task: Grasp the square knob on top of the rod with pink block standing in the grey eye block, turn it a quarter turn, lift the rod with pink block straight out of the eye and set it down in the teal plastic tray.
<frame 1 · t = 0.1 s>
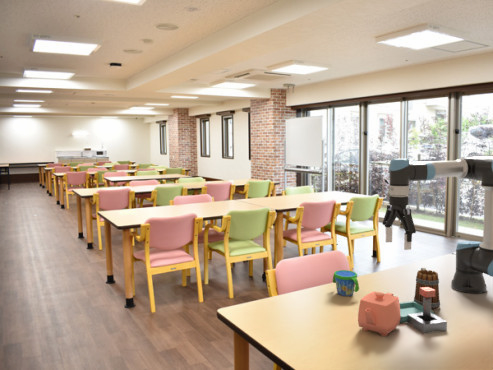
hand: (397, 245, 174), 28 cm above the table, fingers open, 13 cm apart
tray: (407, 314, 171), on the table
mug: (425, 304, 182), on the table
eye block: (426, 326, 159), on the table
snack cup: (345, 294, 196), on the table
rod with pink block: (426, 307, 159), in the eye block
teapot: (378, 329, 158), on the table
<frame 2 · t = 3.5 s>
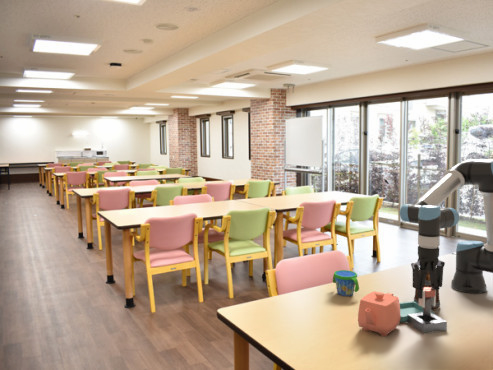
hand: (427, 305, 159), 8 cm above the table, fingers closed on rod with pink block, 4 cm apart
rod with pink block: (426, 307, 159), in the eye block, touching gripper
everything else where it was.
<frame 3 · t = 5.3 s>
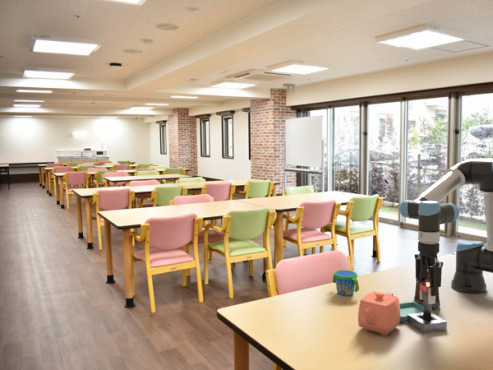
hand: (427, 301, 159), 10 cm above the table, fingers closed on rod with pink block, 4 cm apart
rod with pink block: (427, 303, 159), point 9 cm above the table, touching gripper
everything else where it was.
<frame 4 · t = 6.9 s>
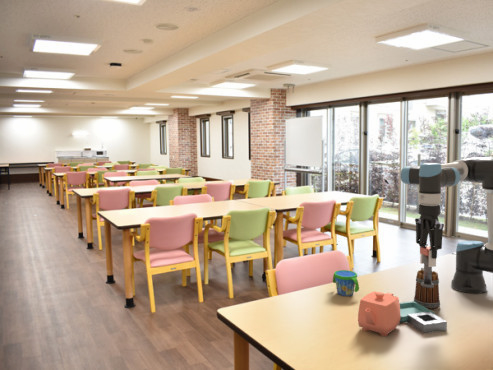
hand: (427, 264, 157), 25 cm above the table, fingers closed on rod with pink block, 4 cm apart
rod with pink block: (427, 266, 157), point 24 cm above the table, touching gripper
everything else where it was.
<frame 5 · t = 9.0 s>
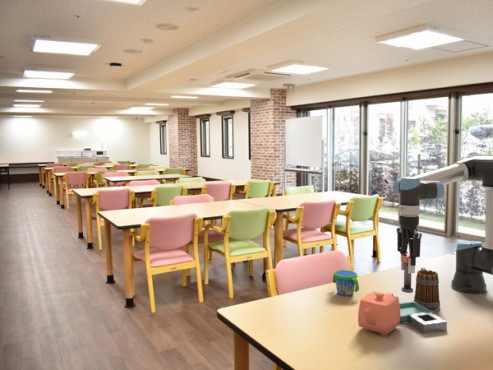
hand: (407, 271, 169), 19 cm above the table, fingers closed on rod with pink block, 4 cm apart
rod with pink block: (407, 273, 169), point 18 cm above the table, touching gripper
everything else where it was.
when the fingers open (10 cm above the table, at t = 10.7 s): rod with pink block stays where it is, resting on tray.
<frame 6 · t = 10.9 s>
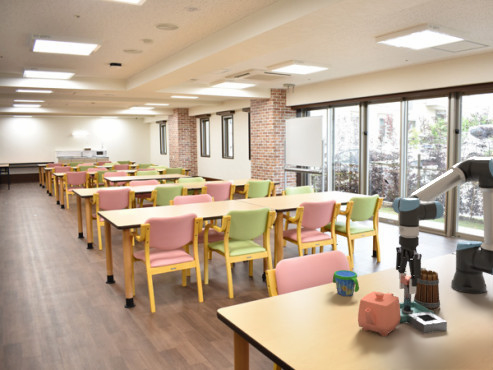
hand: (407, 290, 170), 10 cm above the table, fingers open, 6 cm apart
rod with pink block: (407, 295, 170), in the tray, point 8 cm above the table
everything else where it was.
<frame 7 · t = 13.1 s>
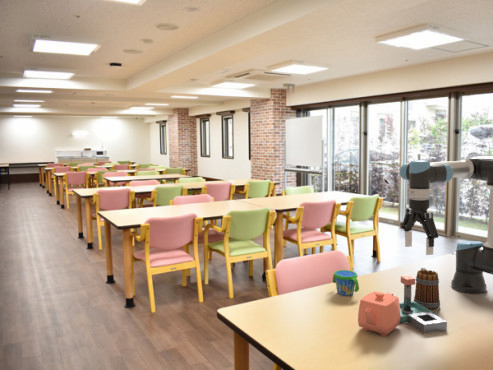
hand: (418, 250, 168), 27 cm above the table, fingers open, 13 cm apart
nothing on the table moved.
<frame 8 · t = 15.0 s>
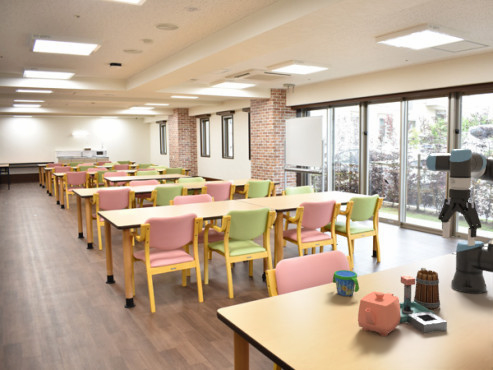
hand: (458, 241, 163), 32 cm above the table, fingers open, 13 cm apart
nothing on the table moved.
at the end: rod with pink block inside the target area on the tray (0.0 cm from its centre), point 8.3 cm above the tray's base; rod with pink block moved 12.0 cm from its start; the gripper is holding nothing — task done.
